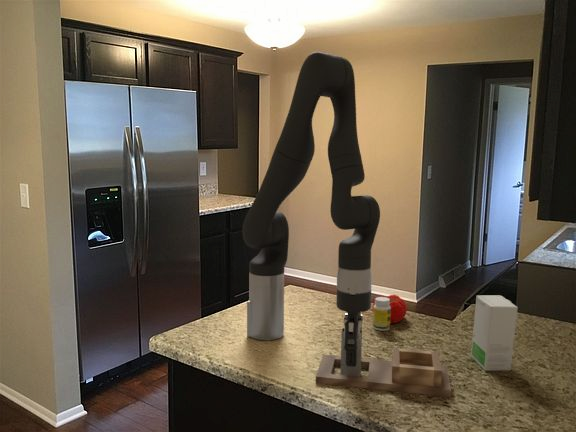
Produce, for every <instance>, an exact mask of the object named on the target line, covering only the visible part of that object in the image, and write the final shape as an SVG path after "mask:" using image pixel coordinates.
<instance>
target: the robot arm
mask: <svg viewBox="0 0 576 432" xmlns="http://www.w3.org/2000/svg"><path fill="white" fill-rule="evenodd" d="M355 81H356V80H355V72H354V68H353V64H351V62H350V61H349V60H348V59H347V58H345V57H343V56H339V55H335V54H331V53H326V52H322V51H314V52H311V53H309V55H308V56H307V57H306V58H305V59H304V61H303V64H301V67H300V70H299V74H298V76H297V80H296V84H295V87H294V91H293V96H292V99H291V100H292V101H291V104H290V106H289V108H288V109H289V110H288V113H287V116H286V118H285V122H284V125H283V128H282V131H281V132H280V135H279V138H278V140H277V142H276V145H275V148H274V150H273V152H272V153H273V154H272V155H271V158H270V162H269V164H268V168H267V171H266V172H265V175H264V178H263V180H262V182H261V185H260V187H259V190H258V192H257V193H256V195H255V198H254V200H253V202H252V204H251V206H250V208H249V210H248V212H247V214H246V215H245V219H244V221H243V224H242V225H243V226H242V238H243V240H244V243H245V244H246V246H247V247H249V248H252V249H260V251H259V253H258V254H257V255H256V256H254V258H252V259H251V260H250V261H249V264H248V265H249V266H248V268H249V270H248V271H249V275H248V276H249V277H248V278H249V279H248V281H249V282H248V283H249V285H248V287H249V288H248V289H249V291H248V292H249V293H248V294H249V295H248V297H249V299H248V301H246V337H247V338H252V339H255V340H259V341H274V340H275V341H276V340H278V339H281V338H282V337H283V336H284V333H285V326H284V325H285V267H286V264H287V261H288V258H289V257H288V254H289V253H288V252H289V242H290V241H289V240H290V231H289V230H290V229H289V221H288V219H287V217H286V216H285V214H284V213H283V212H281V211H279V208H280V207H281V204H283V202H284V201H285V200H286V199H287V197H289V196H290V195H291V194H292V193H293V192H294V190H295V189H296V188H297V187H298V186H299V185H300V183H301V182H302V181H303V180H304V178H305V176H306V175H307V173H308V171H309V168H310V165H311V162H312V160H313V159H314V155H315V150H316V149H315V146H316V145H315V137H314V131H313V117H314V113H315V111H316V108H317V104H318V103H319V101H320V98H321V97H324V98H329V99H330V101H331V105H332V107H333V108H332V109H333V116H334V117H333V125H332V127H331V132H330V134H329V135H330V136H329V139H328V142H327V158H328V163H329V168H330V174H331V179H332V181H331V182H332V183H331V198H330V199H331V200H330V217H331V221H332V222H333V224H334V225H335V226H336V227H337V228H338V229H340V230H342V231H345V230H353V233H352V235H350V237H348V238H344V239H343V240H341V241H340V242H339V245H338V251H337V252H338V253H337V254H338V255H337V256H338V258H337V259H338V260H337V261H338V262H337V264H338V265H337V267H338V268H337V273H336V305H335V306H336V308H337V309H338V310H340V311H343V312H345V313H344V317H343V326H344V327H343V328H344V338H345V346H344V348H345V350H346V365H347V366H352V367H355V366H356V361H357V349H358V346H357V342H358V340H359V339H360V330H363V329H362V327H363V319H364V316H363V314H361V313H364V312H367V311H369V310H371V308H372V282H373V281H372V278H373V276H372V247H373V245H374V241H375V237H376V234H377V231H378V229H379V224H380V221H381V220H380V219H381V209H380V205H379V202H378V201H377V200H376V199H375V197H373V196H371V195H369V194H368V195H364V194H363V195H352V188H353V187H356V186H358V185H360V184H362V183H363V182H364V181H365V179H366V177H365V169H364V164H363V159H362V154H361V151H360V144H359V137H358V128H357V103H356V102H357V99H356V82H355ZM349 339H353V340H354V344H348V340H349Z"/></svg>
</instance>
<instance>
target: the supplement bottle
mask: <svg viewBox="0 0 576 432" xmlns="http://www.w3.org/2000/svg"><path fill="white" fill-rule="evenodd" d="M386 297H387V296H384V297H379V296H377V297H375V299H374V301H375V305H374V312H373V311H372V316H373V319H372V329H374V330H375V331H376V330H377V331H380V332H381V331H382V332H383V331H385V332H386V331H389V330H390V329H391V323H390V317H391V307H390V299H389V298H386Z"/></svg>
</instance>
